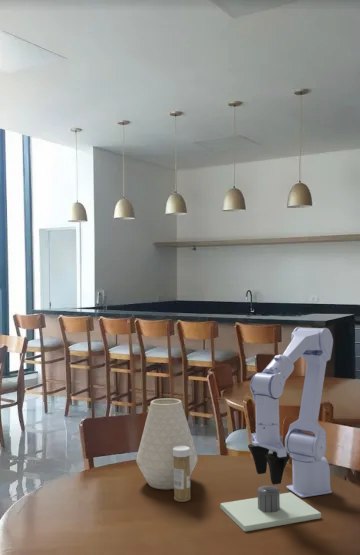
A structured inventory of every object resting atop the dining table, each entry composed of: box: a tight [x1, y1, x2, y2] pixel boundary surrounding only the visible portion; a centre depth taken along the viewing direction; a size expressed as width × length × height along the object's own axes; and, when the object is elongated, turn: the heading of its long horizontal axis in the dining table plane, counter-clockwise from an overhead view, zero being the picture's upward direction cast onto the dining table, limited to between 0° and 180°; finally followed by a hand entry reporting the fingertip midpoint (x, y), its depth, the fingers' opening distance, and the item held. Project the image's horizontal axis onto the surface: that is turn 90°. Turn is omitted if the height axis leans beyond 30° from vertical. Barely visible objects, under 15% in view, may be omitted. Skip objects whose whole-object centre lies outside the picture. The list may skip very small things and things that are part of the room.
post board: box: [219, 491, 322, 532], centre depth 132 cm, size 20×14×5 cm
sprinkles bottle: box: [173, 446, 192, 503], centre depth 142 cm, size 5×5×14 cm
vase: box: [136, 397, 199, 491], centre depth 154 cm, size 17×17×23 cm
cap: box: [257, 485, 280, 513], centre depth 132 cm, size 5×5×4 cm
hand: (268, 478), depth 132 cm, fingers open, 7 cm apart
